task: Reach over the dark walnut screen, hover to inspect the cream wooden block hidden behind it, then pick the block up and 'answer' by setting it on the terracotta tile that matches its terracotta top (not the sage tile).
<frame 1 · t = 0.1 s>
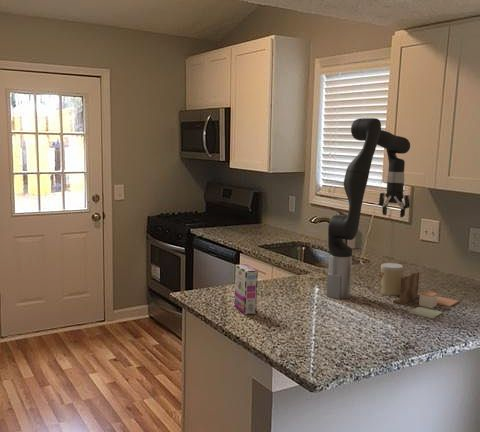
hand: (393, 216, 244), 29 cm above the worktop, tool pointing down, fingers open, 8 cm apart
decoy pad: (425, 313, 196), on the worktop
screen: (408, 300, 211), on the worktop
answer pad: (443, 301, 210), on the worktop
block: (427, 305, 205), on the worktop
coffee cup: (390, 293, 222), on the worktop
candy bar box: (245, 310, 194), on the worktop
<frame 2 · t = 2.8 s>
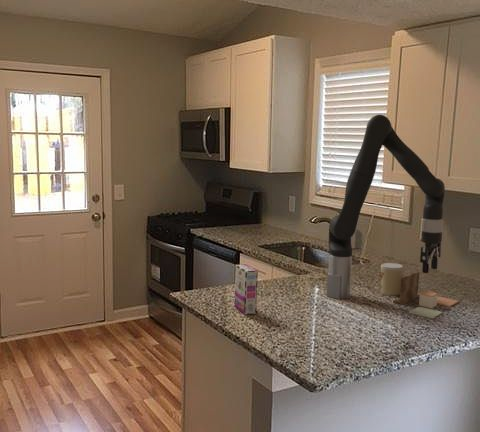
hand: (429, 270, 204), 14 cm above the worktop, tool pointing down, fingers open, 8 cm apart
nothing on the worktop moved.
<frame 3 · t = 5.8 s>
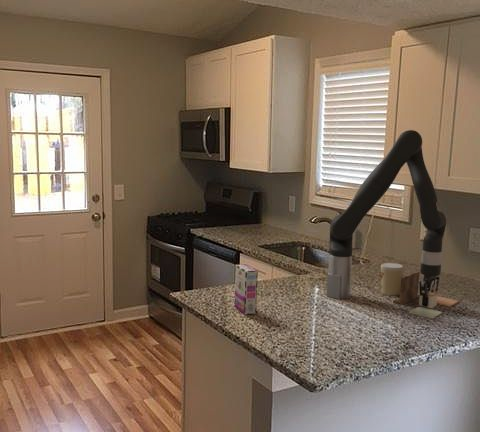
hand: (427, 304, 205), 0 cm above the worktop, tool pointing down, fingers closed on block, 5 cm apart
block: (427, 305, 205), on the worktop, touching gripper
everything else where it was.
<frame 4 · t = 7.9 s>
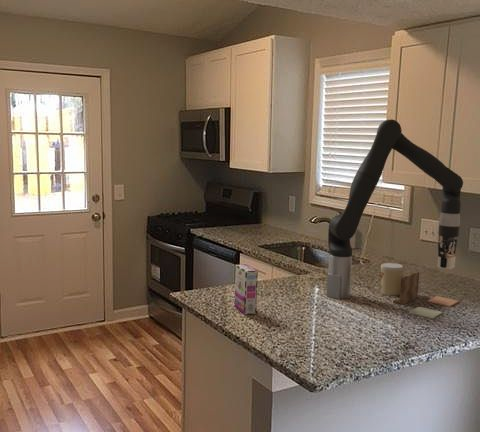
hand: (446, 266, 208), 15 cm above the worktop, tool pointing down, fingers closed on block, 5 cm apart
block: (446, 267, 208), point 14 cm above the worktop, touching gripper
everything else where it was.
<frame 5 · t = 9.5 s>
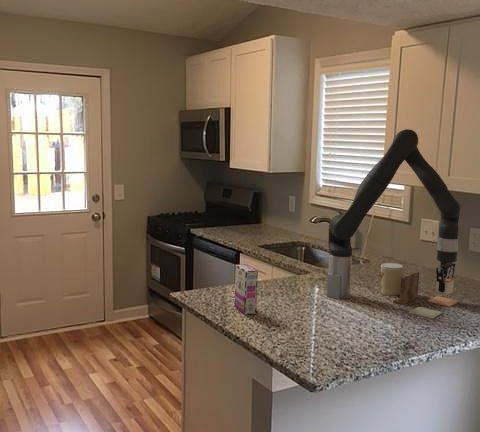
hand: (444, 290, 210), 5 cm above the worktop, tool pointing down, fingers closed on block, 5 cm apart
block: (444, 291, 210), point 4 cm above the worktop, touching gripper
everything else where it was.
when the fingers open (2 cm above the worktop, at t = 10.5 s): block drops 1 cm, resting on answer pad.
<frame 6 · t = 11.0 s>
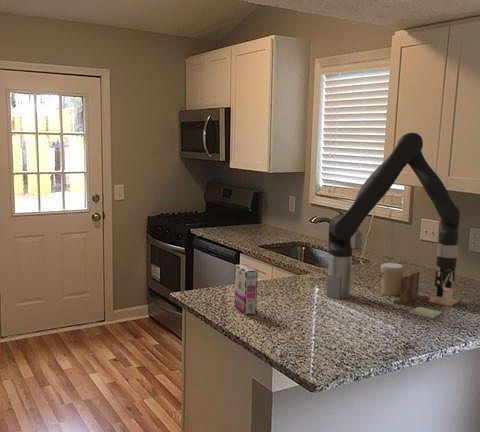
hand: (443, 294, 210), 3 cm above the worktop, tool pointing down, fingers open, 8 cm apart
block: (443, 300, 210), resting on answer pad
everything else where it was.
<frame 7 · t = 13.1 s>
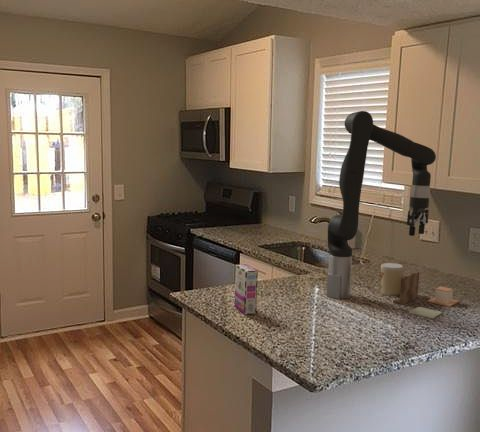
hand: (416, 234, 218), 25 cm above the worktop, tool pointing down, fingers open, 8 cm apart
nothing on the worktop moved.
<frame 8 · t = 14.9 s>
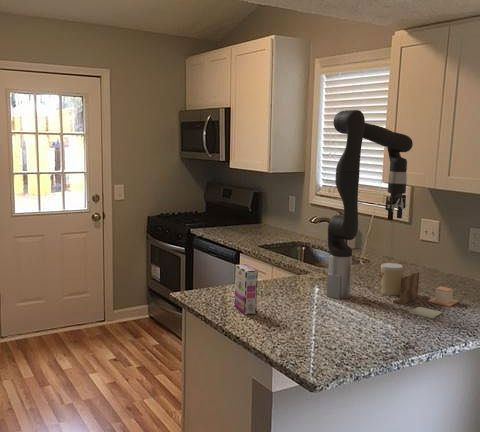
hand: (394, 219, 228), 30 cm above the worktop, tool pointing down, fingers open, 8 cm apart
nothing on the worktop moved.
at the end: block inside the target area on the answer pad (0.1 cm from its centre), point 0.5 cm above the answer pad's base; block tilted 0°; the gripper is holding nothing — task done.
